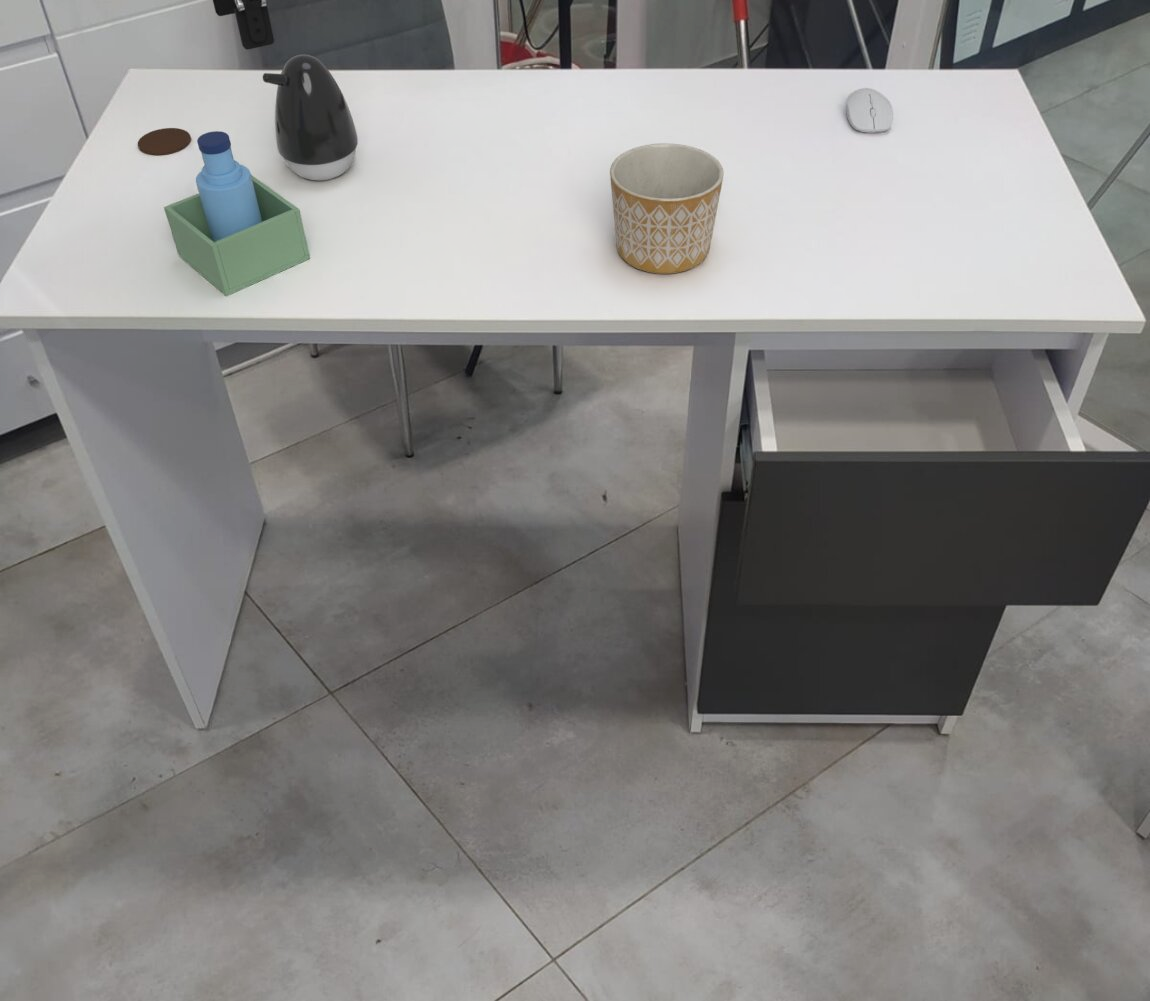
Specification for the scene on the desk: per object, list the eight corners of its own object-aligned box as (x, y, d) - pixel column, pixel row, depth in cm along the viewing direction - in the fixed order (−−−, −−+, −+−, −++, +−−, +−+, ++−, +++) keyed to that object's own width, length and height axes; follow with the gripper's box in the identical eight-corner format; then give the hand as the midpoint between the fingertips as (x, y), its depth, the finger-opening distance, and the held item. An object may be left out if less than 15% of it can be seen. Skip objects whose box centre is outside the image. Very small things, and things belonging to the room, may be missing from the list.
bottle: (233, 273, 128) (201, 157, 118) (207, 252, 132) (174, 138, 121) (278, 253, 131) (251, 138, 121) (252, 233, 134) (223, 120, 124)
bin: (226, 296, 126) (211, 246, 122) (178, 256, 132) (163, 206, 127) (310, 258, 131) (299, 208, 127) (261, 221, 137) (249, 173, 133)
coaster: (153, 160, 148) (152, 157, 148) (129, 142, 152) (128, 139, 152) (200, 143, 152) (199, 140, 151) (175, 125, 155) (175, 122, 155)
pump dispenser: (269, 167, 147) (243, 53, 136) (339, 144, 151) (319, 31, 140) (303, 199, 141) (279, 83, 130) (376, 174, 145) (358, 59, 134)
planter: (618, 218, 137) (619, 138, 129) (721, 227, 135) (728, 147, 127) (600, 276, 128) (600, 194, 120) (710, 286, 126) (717, 204, 119)
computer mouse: (850, 135, 150) (854, 114, 148) (840, 102, 157) (843, 81, 155) (895, 135, 150) (899, 114, 148) (882, 102, 157) (886, 81, 155)
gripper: (142, -170, 109) (187, 8, 121) (189, -122, 98) (233, 67, 111) (217, -181, 112) (254, -6, 124) (271, -136, 101) (306, 51, 113)
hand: (244, 29), depth 117 cm, fingers open, 9 cm apart
